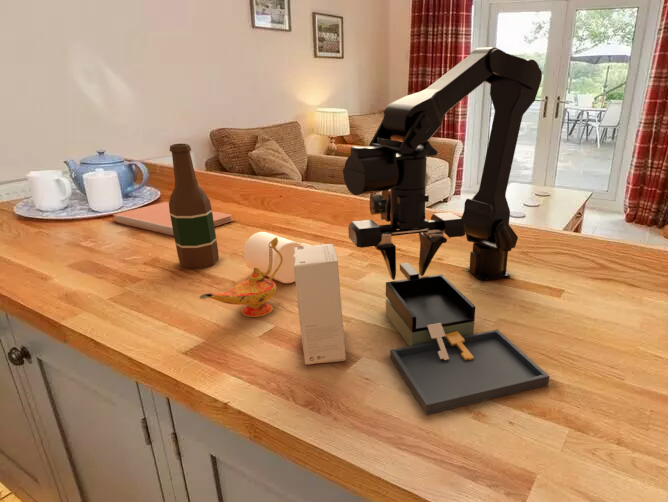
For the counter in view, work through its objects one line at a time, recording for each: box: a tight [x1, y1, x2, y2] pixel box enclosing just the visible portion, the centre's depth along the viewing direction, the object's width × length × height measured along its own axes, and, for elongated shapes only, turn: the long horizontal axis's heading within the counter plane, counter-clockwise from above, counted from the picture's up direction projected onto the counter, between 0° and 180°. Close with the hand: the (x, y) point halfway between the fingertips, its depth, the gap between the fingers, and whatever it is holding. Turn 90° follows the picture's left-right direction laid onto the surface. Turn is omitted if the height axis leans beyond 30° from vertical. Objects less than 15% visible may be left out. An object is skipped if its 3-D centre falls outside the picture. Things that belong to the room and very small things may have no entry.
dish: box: [385, 262, 476, 332], centre depth 78 cm, size 17×10×3 cm, turn 21°
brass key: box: [445, 331, 474, 361], centre depth 70 cm, size 6×2×1 cm, turn 28°
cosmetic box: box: [293, 243, 347, 365], centre depth 68 cm, size 8×6×15 cm
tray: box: [389, 328, 551, 416], centre depth 66 cm, size 17×13×1 cm
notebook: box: [112, 201, 235, 237], centre depth 129 cm, size 27×17×2 cm, turn 61°
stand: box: [385, 298, 475, 347], centre depth 77 cm, size 12×10×3 cm
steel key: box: [427, 323, 449, 361], centre depth 69 cm, size 6×2×1 cm
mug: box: [242, 231, 311, 284], centre depth 96 cm, size 12×10×8 cm
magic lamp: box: [199, 237, 283, 318], centre depth 79 cm, size 7×18×11 cm, turn 153°
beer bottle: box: [168, 143, 220, 269], centre depth 98 cm, size 8×8×24 cm
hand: (407, 277), depth 84 cm, fingers open, 5 cm apart
